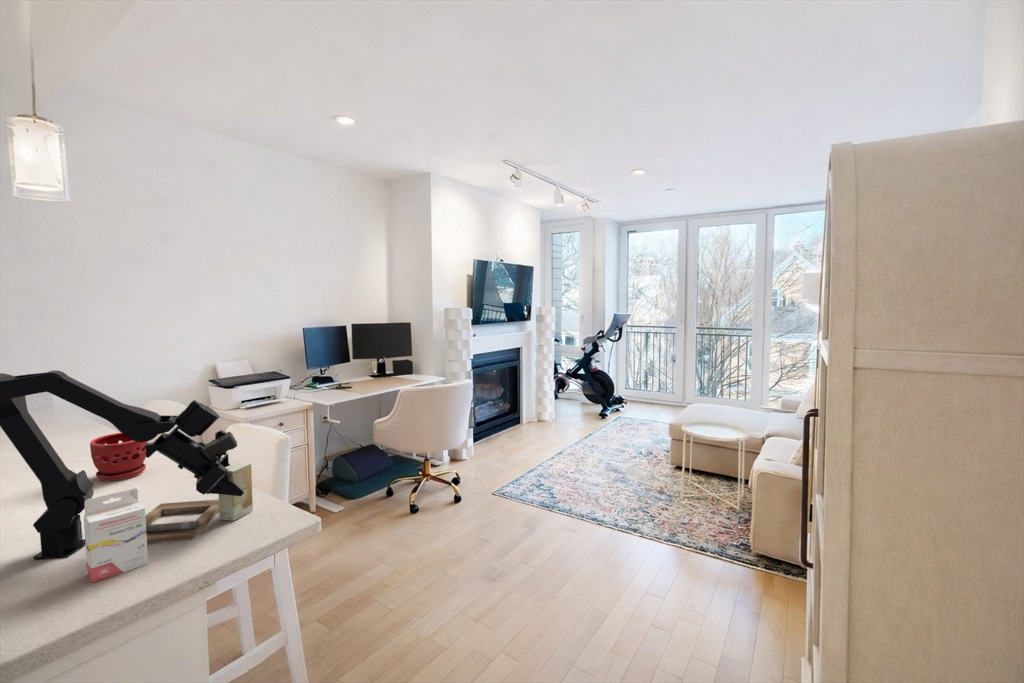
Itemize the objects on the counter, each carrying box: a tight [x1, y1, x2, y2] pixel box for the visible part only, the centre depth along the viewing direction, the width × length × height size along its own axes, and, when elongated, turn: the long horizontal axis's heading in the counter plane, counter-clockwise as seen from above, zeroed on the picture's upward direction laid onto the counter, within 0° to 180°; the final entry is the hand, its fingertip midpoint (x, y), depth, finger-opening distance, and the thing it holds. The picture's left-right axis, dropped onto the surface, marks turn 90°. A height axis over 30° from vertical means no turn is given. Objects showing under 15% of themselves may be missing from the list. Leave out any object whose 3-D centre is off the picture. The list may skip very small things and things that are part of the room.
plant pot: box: [89, 432, 149, 482], centre depth 138 cm, size 13×13×12 cm
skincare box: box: [218, 462, 254, 522], centre depth 112 cm, size 6×4×12 cm
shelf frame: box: [145, 498, 219, 544], centre depth 108 cm, size 18×15×3 cm
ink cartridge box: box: [83, 488, 149, 583], centre depth 89 cm, size 9×5×15 cm, turn 141°
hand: (242, 487), depth 113 cm, fingers open, 9 cm apart
